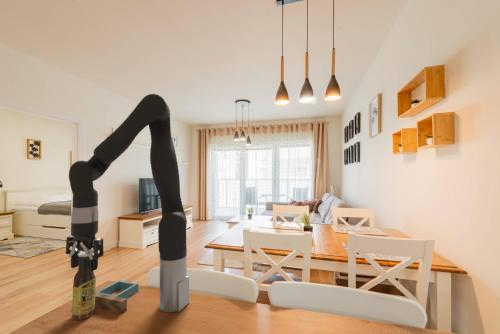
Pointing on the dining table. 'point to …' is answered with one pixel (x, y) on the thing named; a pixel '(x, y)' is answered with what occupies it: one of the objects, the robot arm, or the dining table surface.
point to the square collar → (123, 285)
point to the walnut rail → (110, 303)
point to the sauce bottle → (83, 290)
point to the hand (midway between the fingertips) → (83, 268)
